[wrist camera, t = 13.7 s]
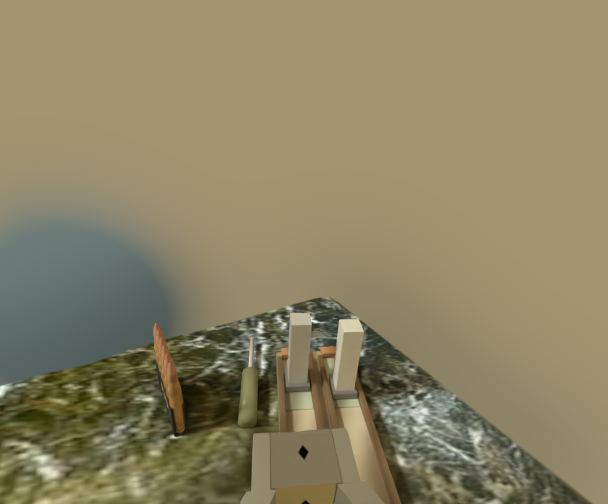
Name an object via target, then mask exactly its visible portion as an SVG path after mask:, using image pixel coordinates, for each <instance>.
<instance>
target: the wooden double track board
mask: <svg viewBox="0 0 608 504" xmlns="http://www.w3.org/2000/svg"><path fill="white" fill-rule="evenodd" d="M288 351H289V348H282V353H276V364H277V389H278V414H279V432H300V431H306V430H319V429H338V428H346V430H347V431H348V435H349V439H350V442H351V446H352V450H353V454H354V458H355V462H356V466H357V469H358V473H359V477H360V481H361V482H366V483H367V484H368V485H369V486H370V487H371V489H372V490H373V491H374V492H375V493H376V494H377V495H378V497H379V498H380V499H381V500H382V501H383V502H384V503H385V504H401V502H400V499H399V496H398V493H397V490H396V487H395V484H394V481H393V478H392V475H391V472H390V469H389V466H388V463H387V460H386V457H385V454H384V451H383V448H382V446H381V443H380V440H379V437H378V434H377V431H376V428H375V425H374V422H373V419H372V416H371V413H370V410H369V407H368V404H367V401H366V398H365V395H364V392H363V389H362V386H361V384H360V381H359V378H358V375H356V381H355V387H356V390H357V393H358V394H357V398H349V399H333V395H332V391H331V387H330V382H329V374H333V368H334V360H335V352H336V347H321V351H315V352H309V364H308V377H309V383H310V391H296V392H286V383H285V367H288Z"/></svg>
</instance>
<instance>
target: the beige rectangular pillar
mask: <svg viewBox="0 0 608 504" xmlns="http://www.w3.org/2000/svg"><path fill="white" fill-rule="evenodd" d="M363 334H364V331H363V329H362V326H361V324H360V322H359V319H349V320H340V321H339V328H338V336H337V344H336V352H335V360H334V368H333V374H329V382H330V387H331V391H332V395H333V399H349V398H357V394H358V393H357V390H356V387H355V381H356V375H357V369H358V364H359V358H360V352H361V346H362V340H363Z"/></svg>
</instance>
